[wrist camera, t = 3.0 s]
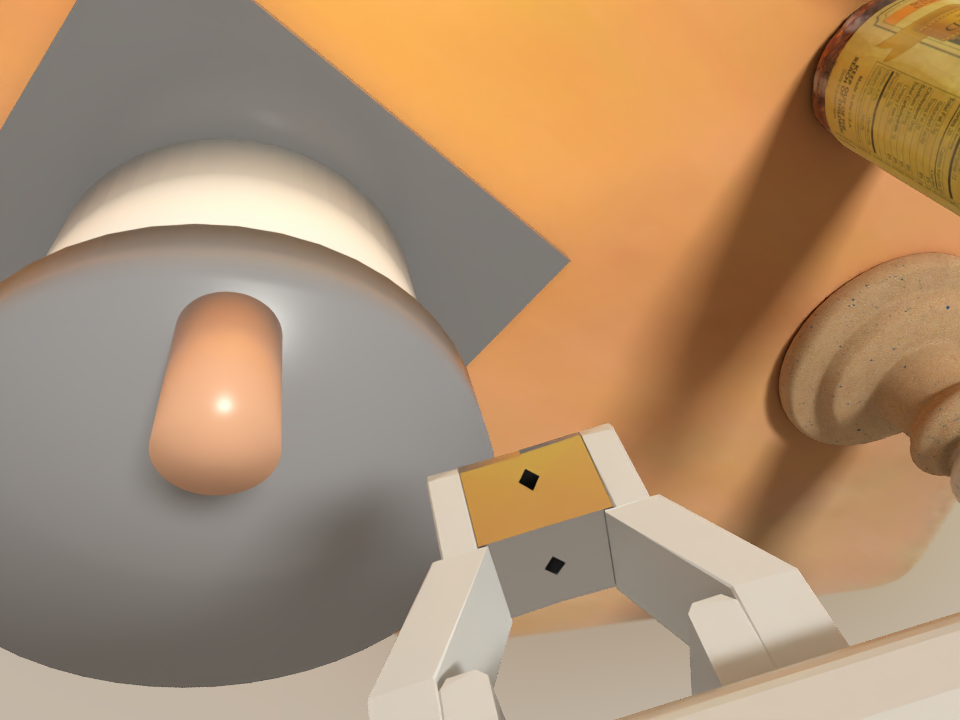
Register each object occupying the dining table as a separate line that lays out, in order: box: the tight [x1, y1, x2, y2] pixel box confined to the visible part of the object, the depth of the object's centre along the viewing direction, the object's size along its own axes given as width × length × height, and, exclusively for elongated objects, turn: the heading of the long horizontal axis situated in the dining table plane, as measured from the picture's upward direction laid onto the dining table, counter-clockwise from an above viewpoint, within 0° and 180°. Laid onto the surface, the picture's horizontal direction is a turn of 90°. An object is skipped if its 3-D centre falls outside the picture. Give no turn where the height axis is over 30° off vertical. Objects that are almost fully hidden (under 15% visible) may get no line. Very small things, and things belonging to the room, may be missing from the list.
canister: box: [0, 0, 570, 366], centre depth 27 cm, size 20×20×9 cm
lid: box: [0, 224, 494, 688], centre depth 20 cm, size 16×16×7 cm
